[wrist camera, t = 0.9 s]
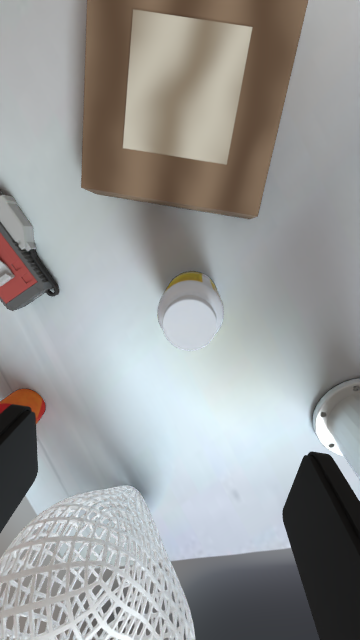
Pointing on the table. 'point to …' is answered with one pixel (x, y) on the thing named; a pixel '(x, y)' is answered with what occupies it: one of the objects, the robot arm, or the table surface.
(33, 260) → the walkie-talkie
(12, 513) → the robot arm
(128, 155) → the stand
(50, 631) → the heart
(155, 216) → the table surface
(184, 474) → the table surface
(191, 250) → the table surface
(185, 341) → the pill bottle
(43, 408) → the paper cup
